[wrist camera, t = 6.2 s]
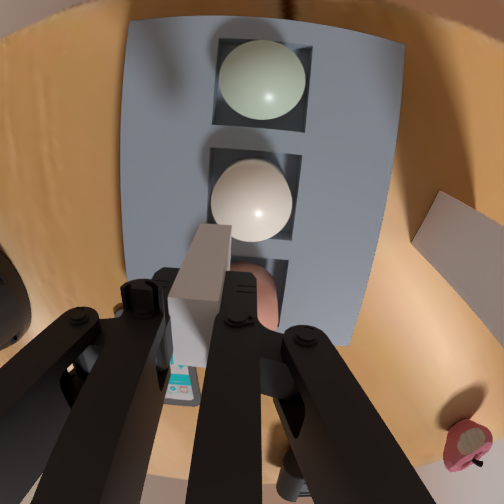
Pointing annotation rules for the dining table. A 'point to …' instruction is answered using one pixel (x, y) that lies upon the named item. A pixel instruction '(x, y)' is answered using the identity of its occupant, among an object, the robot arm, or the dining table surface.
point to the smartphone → (180, 383)
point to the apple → (466, 445)
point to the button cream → (252, 199)
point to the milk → (467, 256)
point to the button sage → (262, 79)
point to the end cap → (291, 479)
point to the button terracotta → (262, 293)
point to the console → (262, 155)
